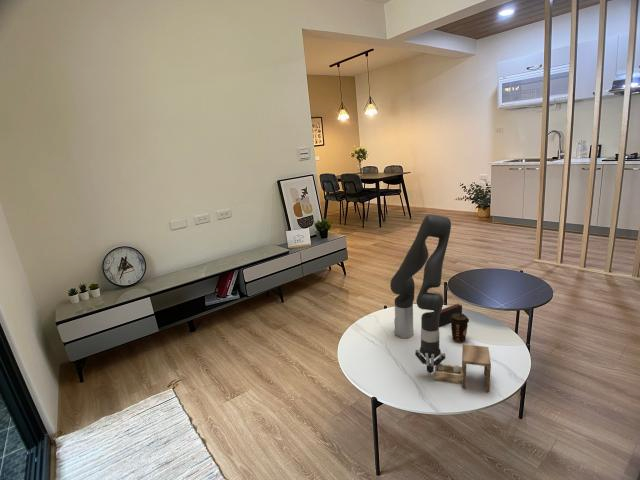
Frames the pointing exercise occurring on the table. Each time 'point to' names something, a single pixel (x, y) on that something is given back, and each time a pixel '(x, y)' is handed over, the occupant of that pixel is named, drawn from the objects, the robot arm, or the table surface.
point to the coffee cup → (459, 327)
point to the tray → (449, 373)
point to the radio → (448, 314)
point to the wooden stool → (476, 361)
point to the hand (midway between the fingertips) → (430, 371)
